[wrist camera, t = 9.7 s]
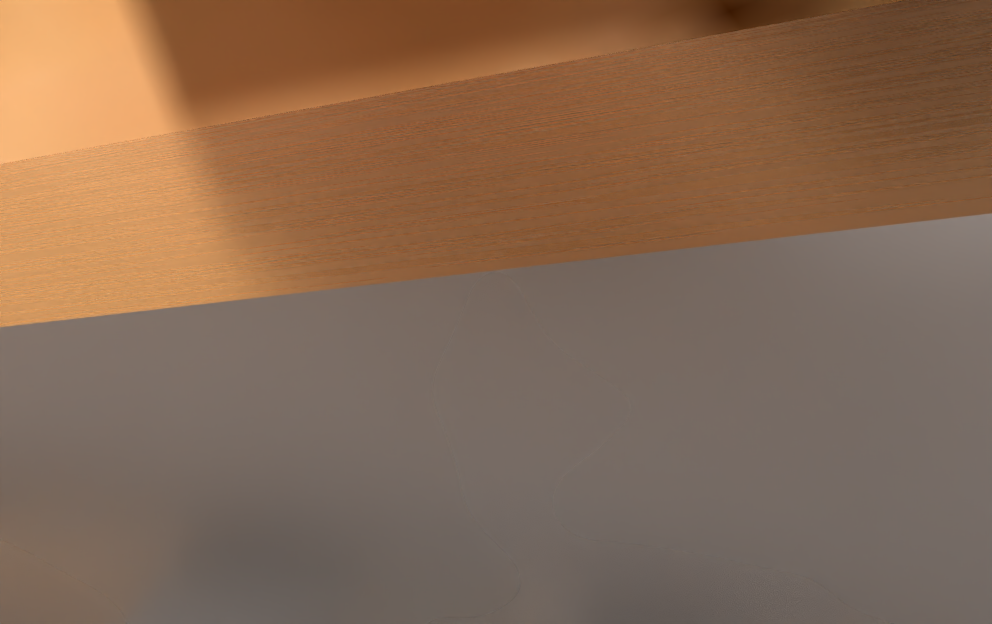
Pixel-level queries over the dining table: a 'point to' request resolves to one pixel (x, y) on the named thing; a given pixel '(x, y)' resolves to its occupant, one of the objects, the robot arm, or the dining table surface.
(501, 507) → the grey rectangular block
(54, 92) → the dining table surface
